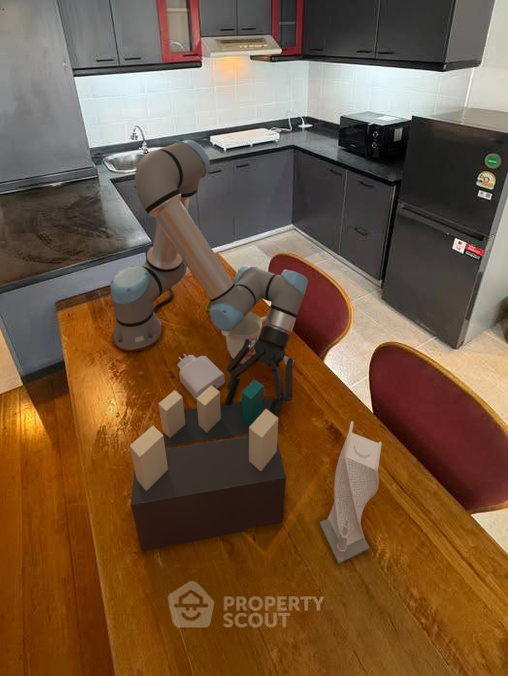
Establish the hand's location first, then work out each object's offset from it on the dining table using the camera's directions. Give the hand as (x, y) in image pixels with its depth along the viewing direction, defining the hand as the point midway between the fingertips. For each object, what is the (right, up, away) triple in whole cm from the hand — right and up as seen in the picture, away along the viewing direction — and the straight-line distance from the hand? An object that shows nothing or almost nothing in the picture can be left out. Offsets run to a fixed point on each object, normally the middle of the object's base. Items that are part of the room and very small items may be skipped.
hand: (246, 415), depth 94 cm
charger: (-15, +2, +16) cm, 22 cm away
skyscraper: (+20, -14, -18) cm, 30 cm away
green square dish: (-10, +16, +43) cm, 46 cm away
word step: (-7, -12, -15) cm, 20 cm away
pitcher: (0, +6, +23) cm, 24 cm away
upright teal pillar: (+1, -2, +4) cm, 5 cm away
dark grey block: (-6, -3, +3) cm, 8 cm away
